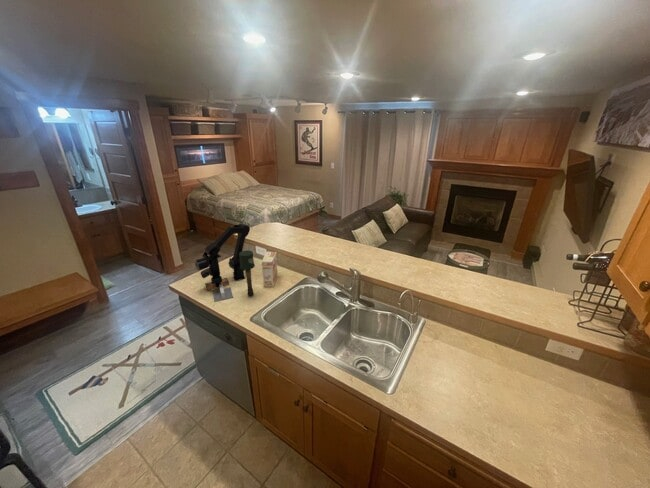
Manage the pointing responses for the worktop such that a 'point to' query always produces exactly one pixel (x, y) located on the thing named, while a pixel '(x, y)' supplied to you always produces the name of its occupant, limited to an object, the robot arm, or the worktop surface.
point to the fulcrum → (222, 294)
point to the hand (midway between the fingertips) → (217, 285)
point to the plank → (213, 286)
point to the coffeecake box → (269, 269)
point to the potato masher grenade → (247, 268)
